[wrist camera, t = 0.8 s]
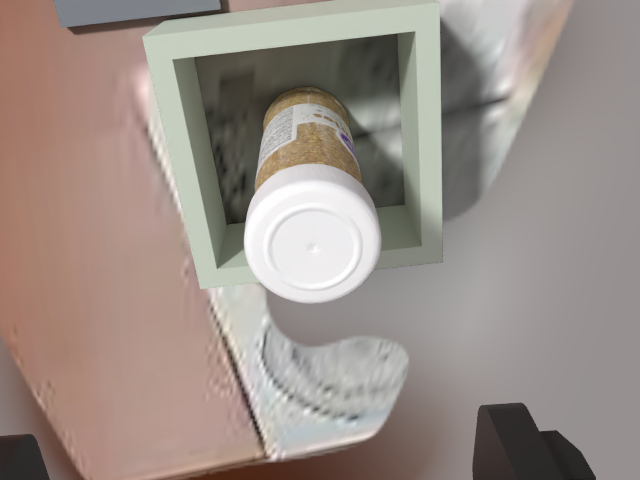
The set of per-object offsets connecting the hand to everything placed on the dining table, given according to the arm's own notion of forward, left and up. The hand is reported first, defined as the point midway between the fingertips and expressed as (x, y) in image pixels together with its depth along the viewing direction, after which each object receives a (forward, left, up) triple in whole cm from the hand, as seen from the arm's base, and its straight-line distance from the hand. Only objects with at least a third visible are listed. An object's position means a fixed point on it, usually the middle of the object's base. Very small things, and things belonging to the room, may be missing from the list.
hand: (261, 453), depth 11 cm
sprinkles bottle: (-1, +1, -23) cm, 23 cm away
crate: (-1, +1, -23) cm, 23 cm away
